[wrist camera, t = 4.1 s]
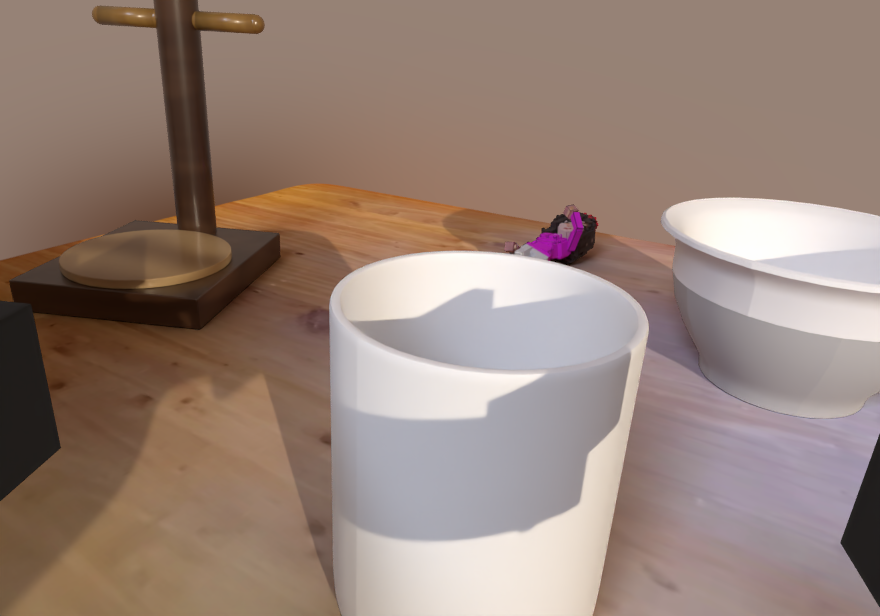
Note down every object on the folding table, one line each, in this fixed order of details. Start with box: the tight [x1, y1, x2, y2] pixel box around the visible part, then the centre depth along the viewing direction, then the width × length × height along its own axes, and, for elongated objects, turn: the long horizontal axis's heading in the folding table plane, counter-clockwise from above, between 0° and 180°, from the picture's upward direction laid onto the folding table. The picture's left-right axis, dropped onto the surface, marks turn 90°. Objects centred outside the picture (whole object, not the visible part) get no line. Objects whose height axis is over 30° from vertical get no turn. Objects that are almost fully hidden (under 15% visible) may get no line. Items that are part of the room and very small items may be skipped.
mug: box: [329, 251, 649, 616], centre depth 22 cm, size 9×12×11 cm
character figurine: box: [504, 205, 598, 264], centre depth 52 cm, size 6×5×12 cm
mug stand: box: [9, 0, 280, 329], centre depth 42 cm, size 14×12×24 cm
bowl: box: [661, 198, 880, 419], centre depth 36 cm, size 16×16×9 cm
